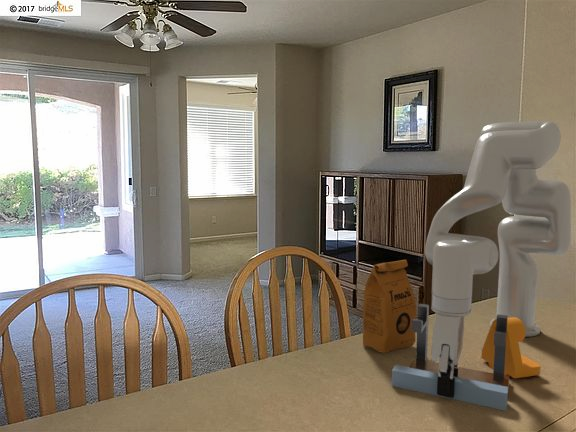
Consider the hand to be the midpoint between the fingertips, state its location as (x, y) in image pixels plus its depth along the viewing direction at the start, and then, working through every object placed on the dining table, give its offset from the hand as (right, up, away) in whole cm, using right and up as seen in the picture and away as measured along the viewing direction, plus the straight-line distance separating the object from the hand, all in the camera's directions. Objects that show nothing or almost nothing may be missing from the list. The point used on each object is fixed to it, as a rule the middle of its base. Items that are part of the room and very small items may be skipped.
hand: (447, 389), depth 97 cm
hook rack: (+4, 0, +6) cm, 7 cm away
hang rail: (0, -2, 0) cm, 2 cm away
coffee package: (-7, +2, +25) cm, 25 cm away
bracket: (+18, 0, +12) cm, 22 cm away
